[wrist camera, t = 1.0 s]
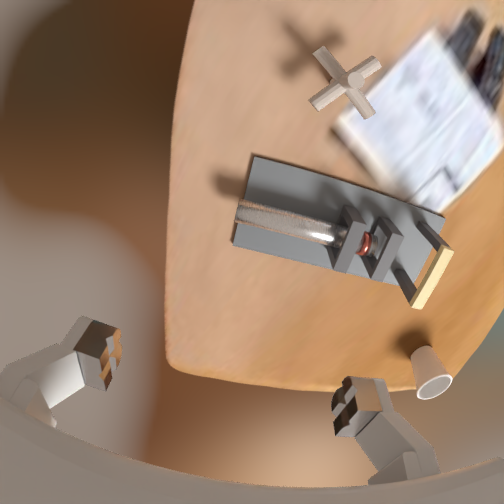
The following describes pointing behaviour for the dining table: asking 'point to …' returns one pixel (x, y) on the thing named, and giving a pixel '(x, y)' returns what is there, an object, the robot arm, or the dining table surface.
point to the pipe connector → (344, 82)
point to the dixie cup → (429, 373)
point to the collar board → (328, 209)
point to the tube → (300, 226)
